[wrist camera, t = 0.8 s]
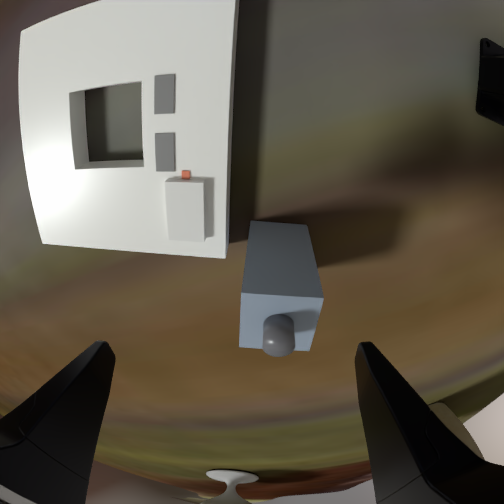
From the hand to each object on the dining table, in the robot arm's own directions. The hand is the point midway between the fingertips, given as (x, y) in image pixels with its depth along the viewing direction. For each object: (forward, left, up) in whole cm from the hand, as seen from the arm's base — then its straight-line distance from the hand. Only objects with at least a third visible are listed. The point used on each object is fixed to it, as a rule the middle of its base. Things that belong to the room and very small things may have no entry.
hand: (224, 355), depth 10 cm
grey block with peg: (-2, +3, -13) cm, 13 cm away
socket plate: (+9, -6, -13) cm, 17 cm away
